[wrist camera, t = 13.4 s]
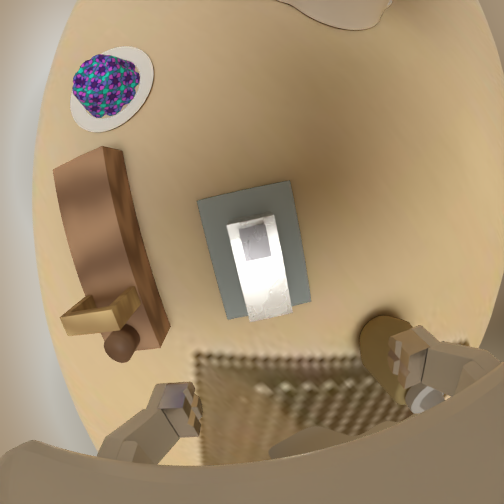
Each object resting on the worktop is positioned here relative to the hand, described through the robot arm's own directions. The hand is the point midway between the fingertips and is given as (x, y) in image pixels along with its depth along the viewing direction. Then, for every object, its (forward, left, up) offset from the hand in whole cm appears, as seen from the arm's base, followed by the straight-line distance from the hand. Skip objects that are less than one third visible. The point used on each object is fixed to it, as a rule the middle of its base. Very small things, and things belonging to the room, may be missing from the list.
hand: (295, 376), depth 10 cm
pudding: (-24, -14, -22) cm, 35 cm away
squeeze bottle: (+15, +13, -21) cm, 29 cm away
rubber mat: (0, -1, -21) cm, 21 cm away
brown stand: (-4, -17, -21) cm, 27 cm away
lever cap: (+1, 0, -20) cm, 20 cm away
